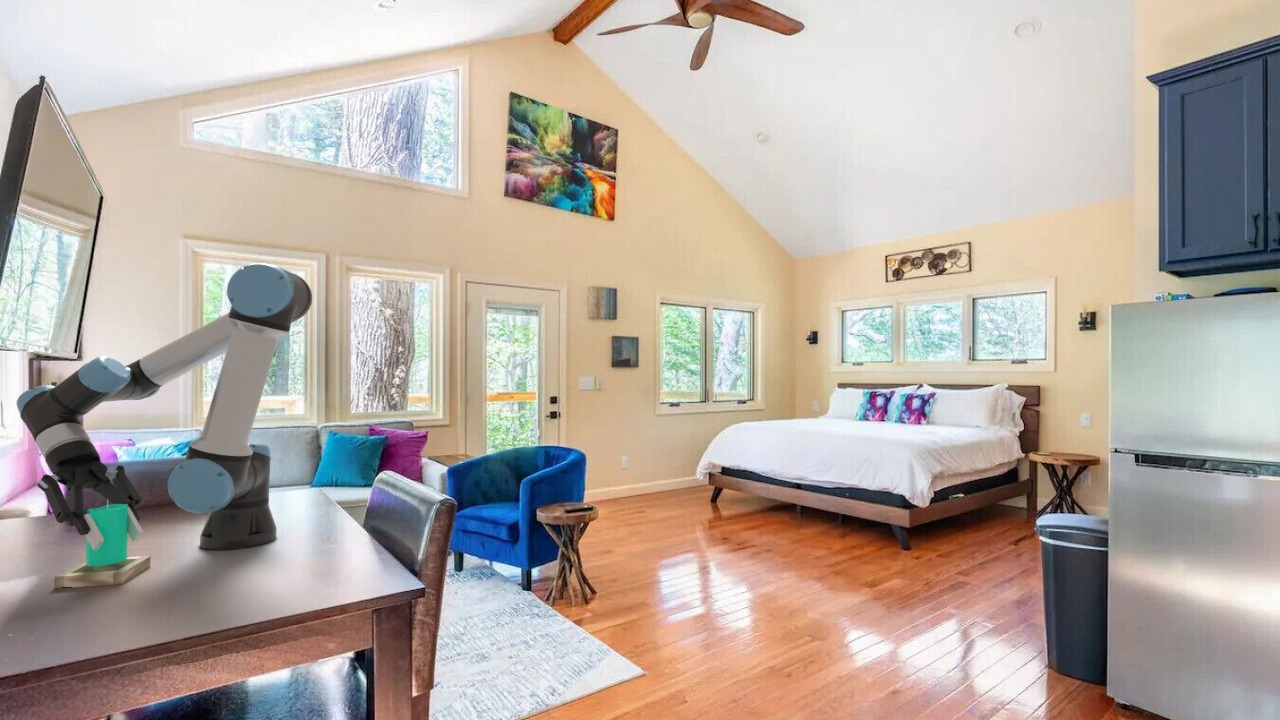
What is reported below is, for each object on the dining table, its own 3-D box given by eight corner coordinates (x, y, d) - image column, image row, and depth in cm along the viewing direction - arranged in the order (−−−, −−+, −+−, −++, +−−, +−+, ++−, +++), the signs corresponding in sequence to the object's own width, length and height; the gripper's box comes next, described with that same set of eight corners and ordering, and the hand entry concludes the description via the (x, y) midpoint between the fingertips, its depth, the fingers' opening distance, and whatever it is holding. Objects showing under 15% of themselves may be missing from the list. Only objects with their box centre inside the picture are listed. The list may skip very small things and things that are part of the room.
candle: (125, 554, 123) (126, 495, 123) (128, 561, 119) (129, 499, 119) (85, 561, 119) (86, 499, 119) (87, 568, 114) (87, 504, 115)
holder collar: (150, 566, 125) (150, 555, 125) (122, 584, 115) (122, 572, 115) (88, 570, 122) (88, 559, 122) (54, 588, 112) (54, 576, 112)
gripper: (114, 457, 133) (162, 540, 127) (-2, 470, 115) (48, 567, 109) (130, 434, 131) (180, 517, 125) (15, 443, 114) (67, 541, 108)
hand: (118, 540), depth 117 cm, fingers closed on candle, 6 cm apart
